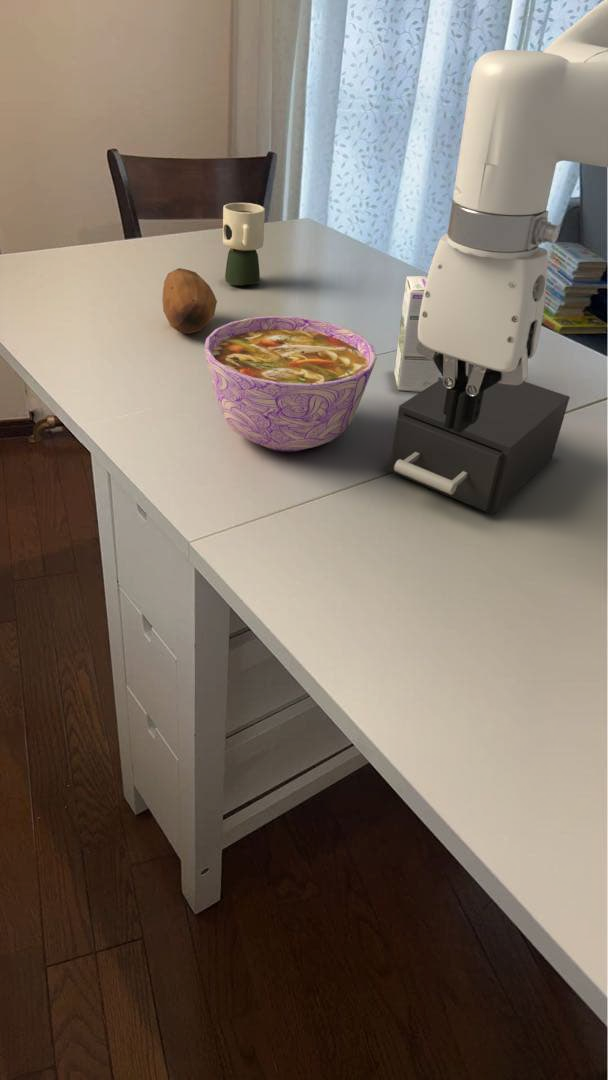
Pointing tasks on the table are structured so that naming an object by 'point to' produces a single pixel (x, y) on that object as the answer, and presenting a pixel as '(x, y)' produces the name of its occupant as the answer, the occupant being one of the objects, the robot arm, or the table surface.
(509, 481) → the small drawer cabinet
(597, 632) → the table surface
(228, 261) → the character mug
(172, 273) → the potato
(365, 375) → the bowl of food
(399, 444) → the open drawer with handle
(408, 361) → the syrup box
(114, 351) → the table surface
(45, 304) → the table surface
